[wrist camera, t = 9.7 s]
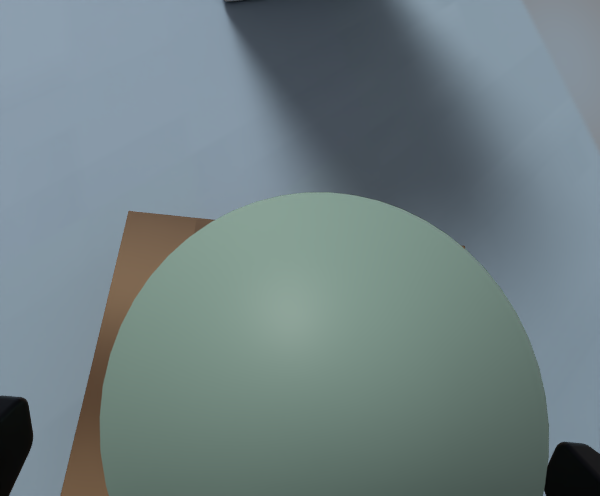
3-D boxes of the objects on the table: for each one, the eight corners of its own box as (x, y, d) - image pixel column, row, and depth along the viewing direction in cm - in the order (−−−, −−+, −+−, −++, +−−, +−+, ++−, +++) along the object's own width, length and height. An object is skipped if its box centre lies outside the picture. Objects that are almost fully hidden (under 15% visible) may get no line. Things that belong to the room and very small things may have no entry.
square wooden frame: (438, 610, 14) (491, 667, 11) (80, 589, 14) (25, 641, 10) (428, 277, 18) (464, 245, 15) (152, 249, 18) (128, 211, 15)
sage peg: (359, 449, 16) (637, 530, 4) (241, 502, 15) (176, 795, 3) (313, 332, 17) (425, 149, 6) (201, 375, 16) (56, 264, 5)
